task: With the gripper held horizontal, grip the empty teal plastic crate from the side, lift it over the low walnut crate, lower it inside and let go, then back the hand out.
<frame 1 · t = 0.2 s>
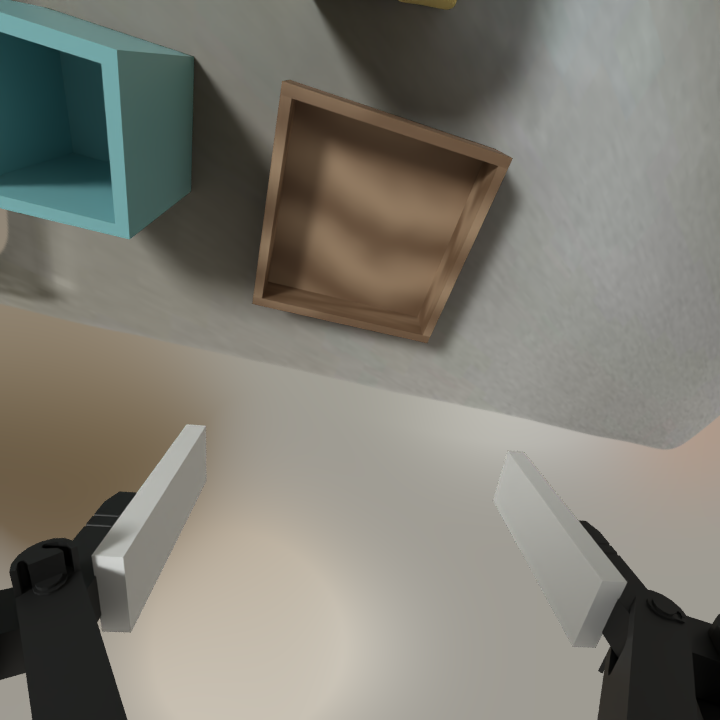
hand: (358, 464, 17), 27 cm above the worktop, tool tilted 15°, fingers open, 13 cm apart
walnut crate: (366, 222, 37), on the worktop
teal crate: (128, 110, 31), on the worktop
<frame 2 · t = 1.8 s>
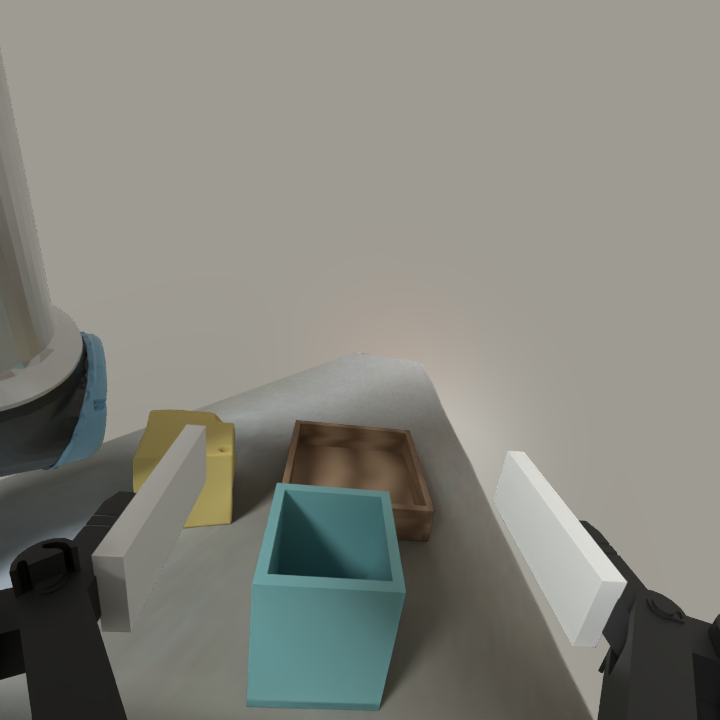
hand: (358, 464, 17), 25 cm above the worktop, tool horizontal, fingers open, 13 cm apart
walnut crate: (351, 486, 54), on the worktop
teal crate: (317, 641, 34), on the worktop
cheese: (191, 501, 48), on the worktop
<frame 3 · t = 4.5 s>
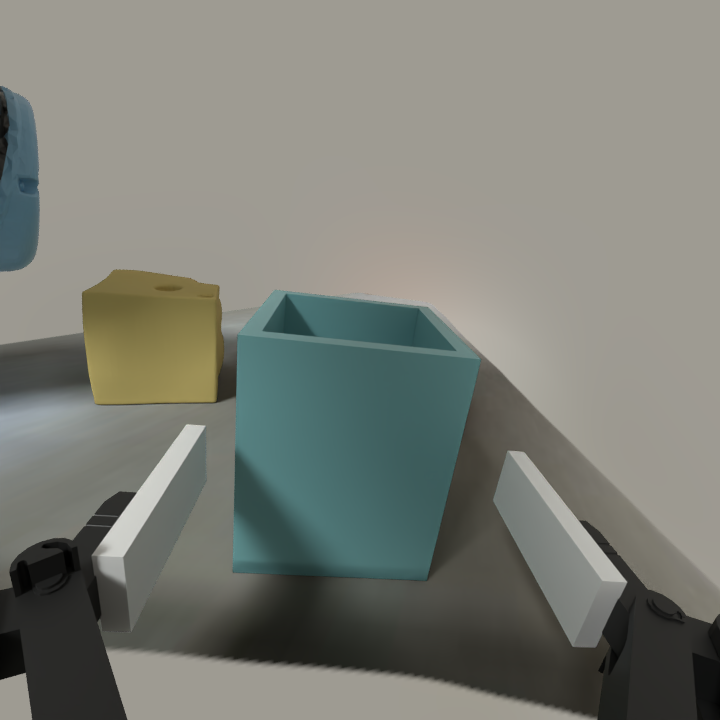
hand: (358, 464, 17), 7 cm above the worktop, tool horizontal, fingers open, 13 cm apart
teal crate: (332, 508, 25), on the worktop
cheese: (166, 385, 38), on the worktop
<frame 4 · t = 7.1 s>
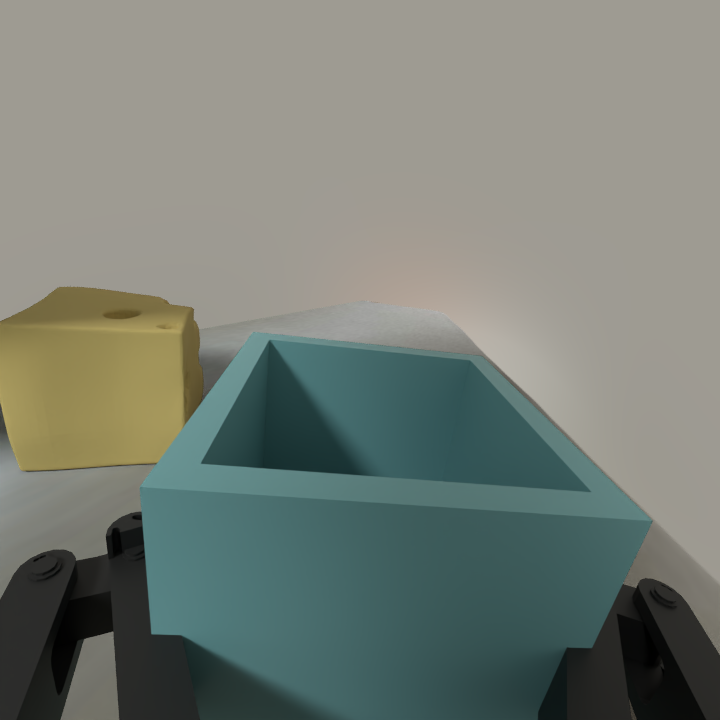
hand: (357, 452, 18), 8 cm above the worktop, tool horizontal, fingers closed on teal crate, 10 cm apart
teal crate: (340, 662, 16), on the worktop, touching gripper
cheese: (125, 434, 30), on the worktop
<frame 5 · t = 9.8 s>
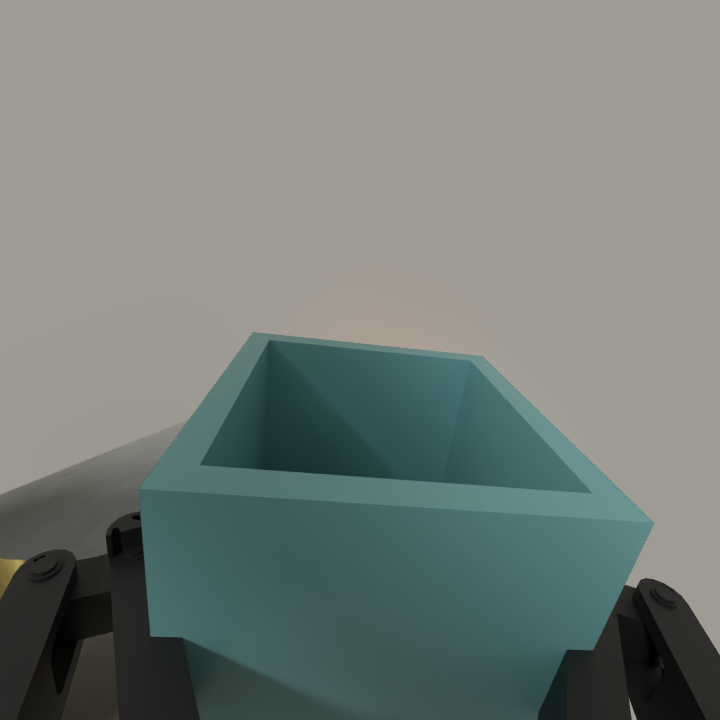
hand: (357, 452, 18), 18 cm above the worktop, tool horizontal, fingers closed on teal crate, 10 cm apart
teal crate: (340, 663, 16), point 10 cm above the worktop, touching gripper
when the fingers open (10 cm above the worktop, at t = 12.6 s): teal crate drops 2 cm, resting on walnut crate.
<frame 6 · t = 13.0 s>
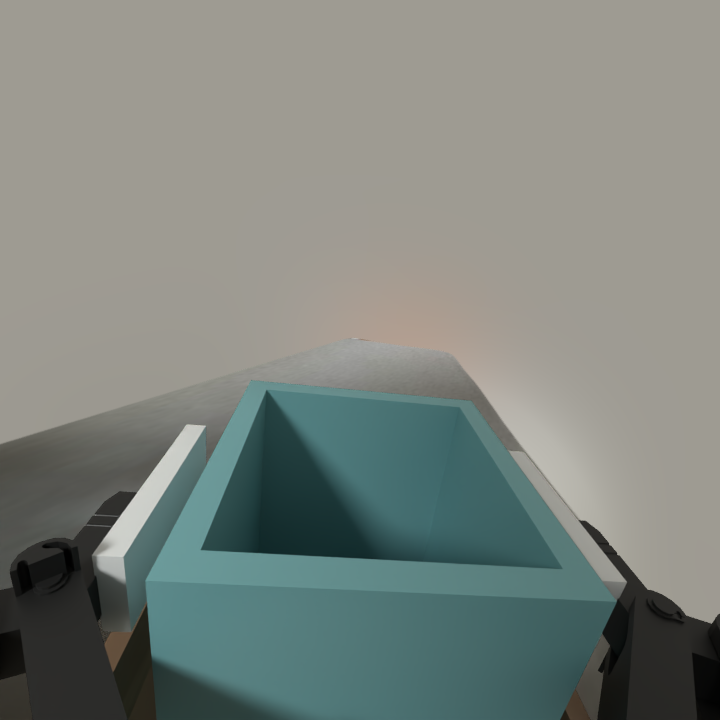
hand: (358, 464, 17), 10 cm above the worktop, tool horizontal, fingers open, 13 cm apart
walnut crate: (332, 706, 17), on the worktop
teal crate: (334, 697, 17), point 1 cm above the worktop, touching walnut crate
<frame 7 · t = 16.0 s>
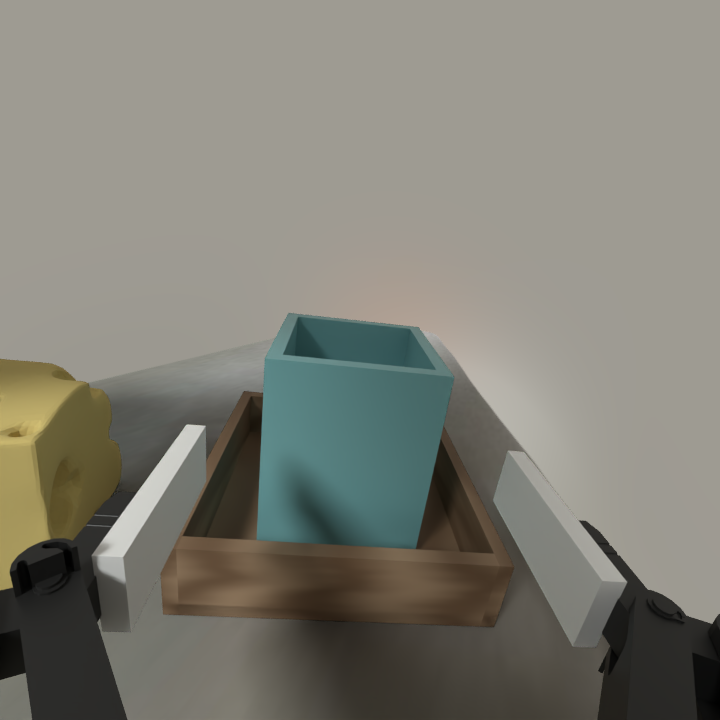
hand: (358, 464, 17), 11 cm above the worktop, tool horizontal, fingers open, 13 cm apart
walnut crate: (335, 505, 30), on the worktop
teal crate: (336, 497, 29), point 1 cm above the worktop, touching walnut crate
cheese: (0, 545, 23), on the worktop
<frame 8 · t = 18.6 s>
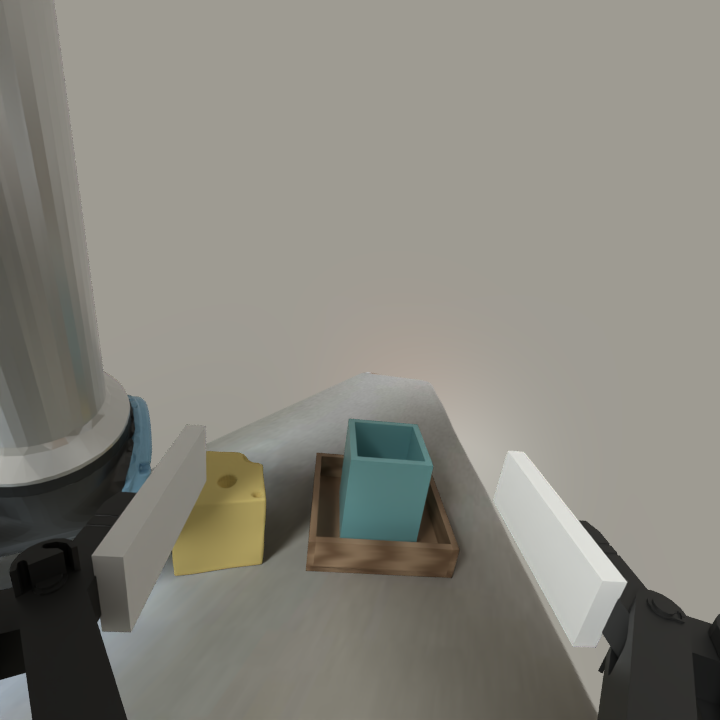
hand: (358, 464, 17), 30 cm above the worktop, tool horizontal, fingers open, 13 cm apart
walnut crate: (373, 520, 56), on the worktop
teal crate: (374, 516, 55), point 1 cm above the worktop, touching walnut crate
cheese: (221, 541, 49), on the worktop
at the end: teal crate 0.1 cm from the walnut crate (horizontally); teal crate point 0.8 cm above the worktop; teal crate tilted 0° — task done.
